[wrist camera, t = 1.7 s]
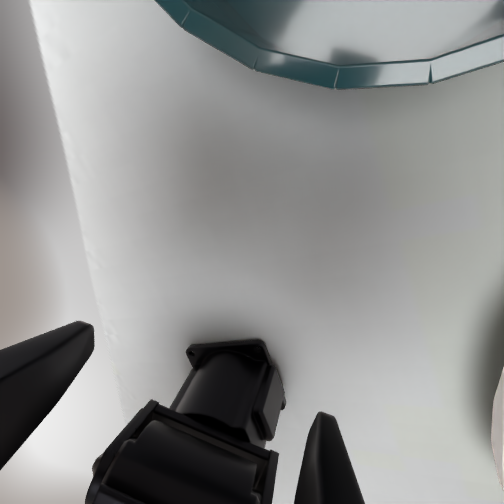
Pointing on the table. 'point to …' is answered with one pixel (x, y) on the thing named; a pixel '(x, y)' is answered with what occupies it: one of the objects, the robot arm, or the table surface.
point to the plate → (498, 430)
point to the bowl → (350, 38)
